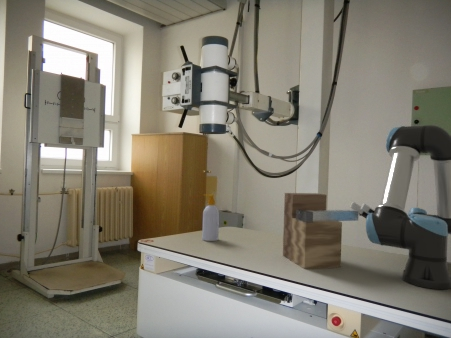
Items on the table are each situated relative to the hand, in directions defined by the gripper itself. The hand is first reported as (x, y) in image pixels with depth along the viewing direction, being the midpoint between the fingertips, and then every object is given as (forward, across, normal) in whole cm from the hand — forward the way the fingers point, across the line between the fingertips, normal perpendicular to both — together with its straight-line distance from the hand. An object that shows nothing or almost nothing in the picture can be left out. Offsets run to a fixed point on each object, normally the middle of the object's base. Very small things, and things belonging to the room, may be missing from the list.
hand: (356, 205), depth 147 cm
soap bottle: (+35, +50, -47) cm, 77 cm away
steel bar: (+10, -2, -12) cm, 16 cm away
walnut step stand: (+5, +3, -30) cm, 31 cm away
